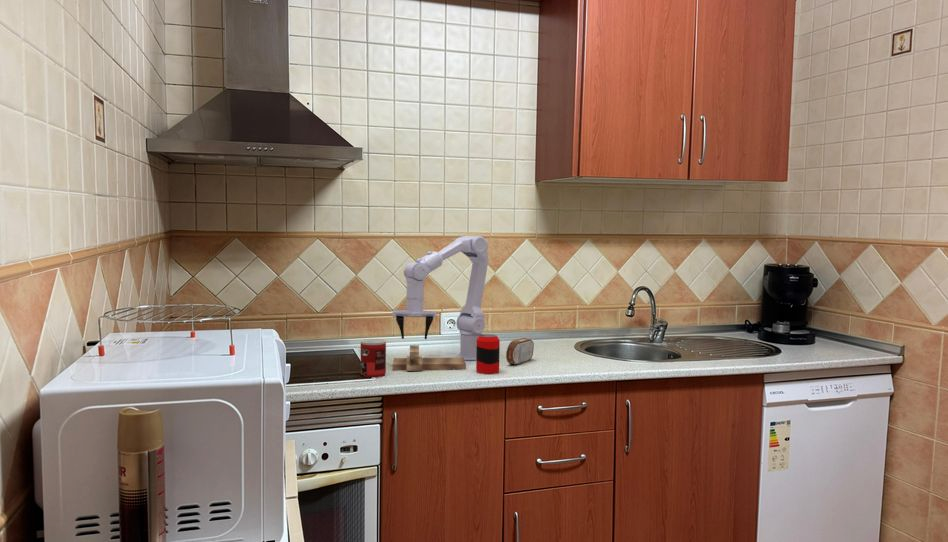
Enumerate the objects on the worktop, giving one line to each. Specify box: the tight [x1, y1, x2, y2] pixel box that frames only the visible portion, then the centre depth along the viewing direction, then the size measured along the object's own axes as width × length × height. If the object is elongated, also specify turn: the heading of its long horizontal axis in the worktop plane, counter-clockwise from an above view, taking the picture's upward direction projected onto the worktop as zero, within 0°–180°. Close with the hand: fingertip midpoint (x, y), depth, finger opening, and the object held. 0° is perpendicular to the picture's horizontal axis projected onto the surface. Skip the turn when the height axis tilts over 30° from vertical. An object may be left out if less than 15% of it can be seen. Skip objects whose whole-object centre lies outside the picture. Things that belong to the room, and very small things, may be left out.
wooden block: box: [406, 344, 423, 372], centre depth 216 cm, size 5×12×6 cm, turn 5°
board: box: [392, 357, 467, 371], centre depth 217 cm, size 24×10×2 cm, turn 95°
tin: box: [505, 337, 535, 366], centre depth 225 cm, size 15×3×8 cm, turn 145°
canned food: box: [360, 338, 387, 378], centre depth 205 cm, size 8×8×11 cm
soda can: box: [475, 333, 501, 375], centre depth 211 cm, size 8×8×12 cm
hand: (414, 338), depth 216 cm, fingers open, 7 cm apart
